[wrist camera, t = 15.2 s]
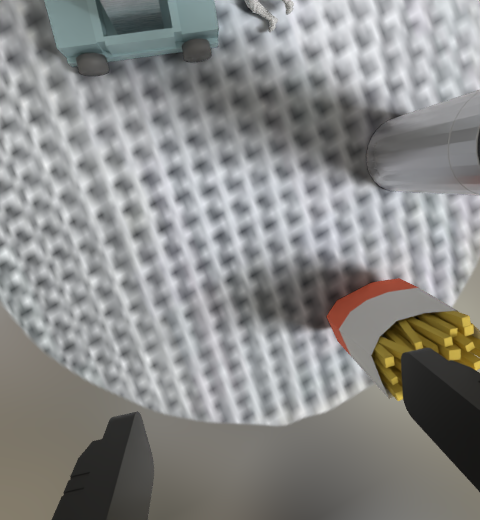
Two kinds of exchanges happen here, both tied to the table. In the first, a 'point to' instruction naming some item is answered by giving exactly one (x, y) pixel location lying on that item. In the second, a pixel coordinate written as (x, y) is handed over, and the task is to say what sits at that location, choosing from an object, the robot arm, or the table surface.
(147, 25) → the knobbed metal block
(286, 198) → the table surface
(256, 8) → the soldier figure
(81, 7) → the chassis
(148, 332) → the table surface
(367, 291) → the french fries container
